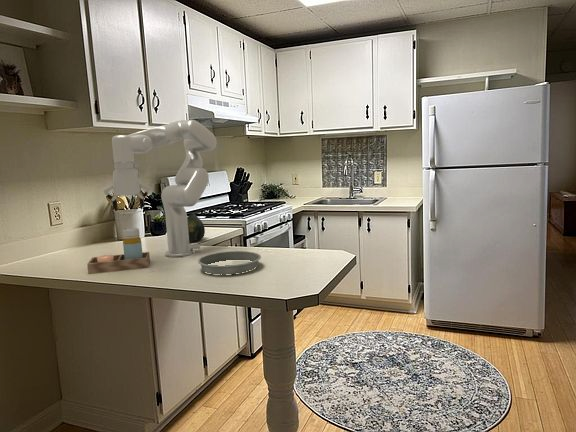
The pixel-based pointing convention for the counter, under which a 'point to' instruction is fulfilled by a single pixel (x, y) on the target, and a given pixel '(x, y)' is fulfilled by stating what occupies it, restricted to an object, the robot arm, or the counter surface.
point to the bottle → (132, 244)
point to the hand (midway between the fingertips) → (129, 209)
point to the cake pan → (229, 256)
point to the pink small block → (105, 258)
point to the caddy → (118, 264)
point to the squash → (195, 228)
